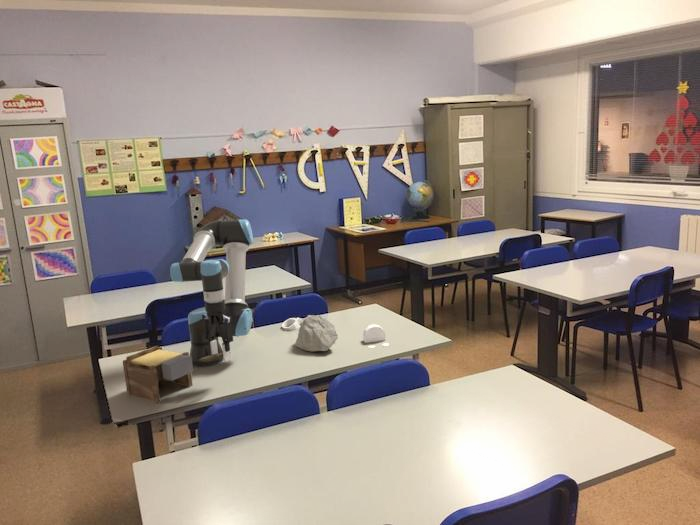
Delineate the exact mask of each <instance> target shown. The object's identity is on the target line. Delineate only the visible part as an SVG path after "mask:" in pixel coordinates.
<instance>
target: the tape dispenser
mask: <svg viewBox="0 0 700 525" xmlns="http://www.w3.org/2000/svg"><path fill="white" fill-rule="evenodd" d="M362 333H363V334H362V340H363V342H364V343H365V344H366V343H374V342H375V343H376V342H382V341H383V342H384V341H386V340H387V339H386V332H385V330H384V329H383V328H382V327H381V325H378V324H370V325H367V326H366V327H365V329H364V330H363V332H362ZM381 345H382V347H388V346H390V344H389V342H385V343H382V344H381ZM367 347H368V349H375V348H376V345H374V344H372V345H368V346H367Z"/></svg>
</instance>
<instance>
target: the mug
mask: <svg viewBox="0 0 700 525" xmlns="http://www.w3.org/2000/svg"><path fill="white" fill-rule="evenodd" d="M304 319H305V318H301V317H291V318H288V319H286V320H285V321H283V322H282V325H281V327H282V329H283V330H285V331H295V330H297V329H298V330H299V329H300V326H301V325H300V324H302V323H303V321H304ZM299 321H300V323H299Z"/></svg>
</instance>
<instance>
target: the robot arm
mask: <svg viewBox="0 0 700 525" xmlns="http://www.w3.org/2000/svg"><path fill="white" fill-rule="evenodd" d="M192 239H193V241H192V242H191V245H190V247H189V248H188V250H187V252H186V253H185V255H184V256H183V259H181V261H180V262H174V263H172V264H170V267H169V268H170V269H169V270H170V271H169V274H170V278H171V280H172V281H173V282H175V283H178V282H179V283H184V282H198V281H199V282H200V281H202V282H201V283H202V291H203V301H204V306H203V307H199V308H196V309H194V310H192V311H191V312H189V313H188V315H187V317H188V318H187V320H188V322H187V324H188V330H189V338H190V349H189V356H192V364H193V367H207V366H214V365H216V364H219V363H221V362H222V361H226V360H228V359H231V352H230V351H231V346H230V343H231V342H234V337H238V338H239V337H240V336H241V337H242V336H243V337H244V336H246V335H249V333H250V331H251V328H252V323H253V311H252V309H251V308H249V305H248V303H247V302H246V301H245V300H246V299H245V298H246V297H245V296H246V262H247V261H246V258H247V257H246V256H247V255H246V254H247V252H248V251H249V249H250V245H253V244H254V236H253V230H252V226H251V223H250V222H249V220H248V219H245V218H243V219H240V218H238V219H227V220H224V219H223V220H214V221H211V222H208V223H206V224H204V225H202V226H201V227H200V228H199V229H198V230H197V231H196V233H195V234H194V236H193V238H192ZM214 247H223V251H225V252H226V256H225V259H223V258H217V259H207V260H205V258H207V254H208V253H209V251H210V250H212V249H213V248H214ZM224 278H225V281H224V282H225V287H224V286H223V285H224V283H223V279H224ZM224 288H225V289H224ZM224 290H225V291H224ZM224 292H225V293H224ZM219 338H221V340H222V343H221V344H220V342H219ZM229 352H230V353H229ZM218 353H223V357H222V358H220V359H217V360H213V361H198V360H199V359H201V358H203V357H206V356H210V355H213V354H218Z"/></svg>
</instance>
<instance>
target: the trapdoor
mask: <svg viewBox="0 0 700 525" xmlns="http://www.w3.org/2000/svg"><path fill="white" fill-rule="evenodd" d="M131 362H133V363H137V364H142V365H146V366H158V365H160V364H161V365H162V372H163V379H167V380H171V381H173V380H175V379H178V378H180V377H182V376H184V375H186V374H189V373H191V374H192V373H193V372H194V366H193V364H192V356H187V355H182V353H179V352H175V351H169V350H163V349H162V350H156V351H153V352H151V353H148V354H146V355H143V356H141V357H138V358H135V359H133V360H131Z"/></svg>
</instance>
